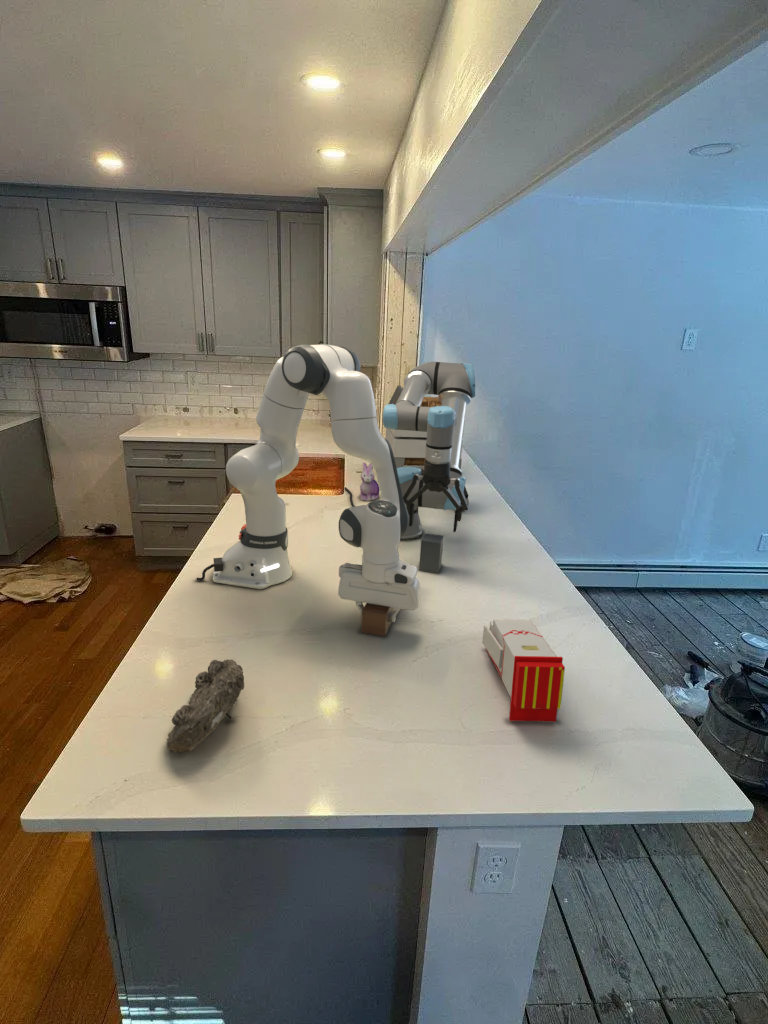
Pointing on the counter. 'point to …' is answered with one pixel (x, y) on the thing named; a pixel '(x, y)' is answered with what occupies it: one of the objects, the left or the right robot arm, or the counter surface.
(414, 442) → the white boxy piece
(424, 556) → the cap block
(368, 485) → the figurine
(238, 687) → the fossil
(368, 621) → the walnut beam
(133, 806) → the counter surface
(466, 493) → the figurine character
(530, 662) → the toy
